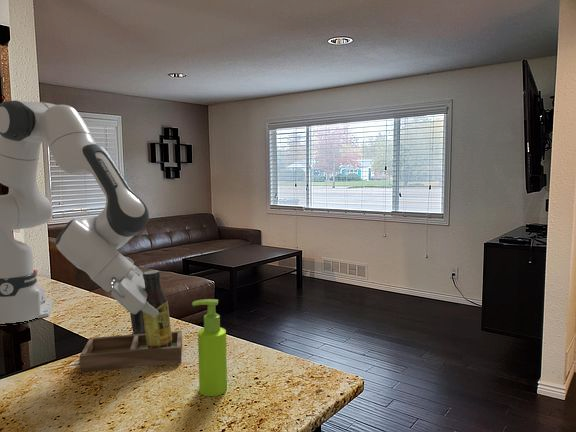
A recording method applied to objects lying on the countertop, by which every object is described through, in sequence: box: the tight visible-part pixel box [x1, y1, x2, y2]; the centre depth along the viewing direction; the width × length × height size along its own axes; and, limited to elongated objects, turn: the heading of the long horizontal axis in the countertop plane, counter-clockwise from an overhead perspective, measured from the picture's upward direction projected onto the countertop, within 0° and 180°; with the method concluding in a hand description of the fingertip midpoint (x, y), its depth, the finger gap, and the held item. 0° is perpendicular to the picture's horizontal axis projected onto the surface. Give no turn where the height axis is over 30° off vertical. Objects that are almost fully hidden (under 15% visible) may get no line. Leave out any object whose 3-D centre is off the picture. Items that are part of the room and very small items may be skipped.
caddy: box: [79, 330, 183, 373], centre depth 111 cm, size 11×23×4 cm, turn 102°
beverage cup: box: [129, 265, 145, 335], centre depth 126 cm, size 7×7×20 cm
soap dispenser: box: [191, 298, 228, 397], centre depth 95 cm, size 6×7×20 cm
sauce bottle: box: [143, 269, 172, 349], centre depth 111 cm, size 6×6×20 cm
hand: (158, 309), depth 111 cm, fingers closed on sauce bottle, 6 cm apart
